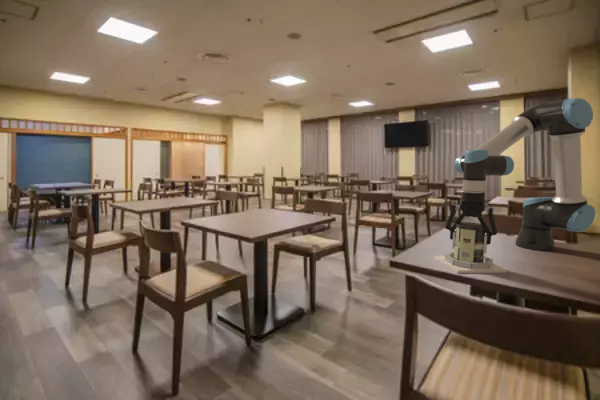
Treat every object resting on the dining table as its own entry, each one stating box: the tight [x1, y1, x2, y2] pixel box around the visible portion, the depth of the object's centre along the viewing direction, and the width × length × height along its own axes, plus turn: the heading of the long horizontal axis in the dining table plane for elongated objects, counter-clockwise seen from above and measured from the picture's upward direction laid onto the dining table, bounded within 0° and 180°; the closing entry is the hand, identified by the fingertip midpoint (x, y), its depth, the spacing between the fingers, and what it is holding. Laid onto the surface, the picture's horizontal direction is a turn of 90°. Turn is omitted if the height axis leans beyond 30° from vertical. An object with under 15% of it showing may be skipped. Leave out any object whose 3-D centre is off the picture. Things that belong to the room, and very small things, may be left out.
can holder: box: [433, 251, 507, 274], centre depth 131 cm, size 18×18×3 cm
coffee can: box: [453, 221, 486, 263], centre depth 130 cm, size 10×10×14 cm
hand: (469, 250), depth 130 cm, fingers closed on coffee can, 10 cm apart
